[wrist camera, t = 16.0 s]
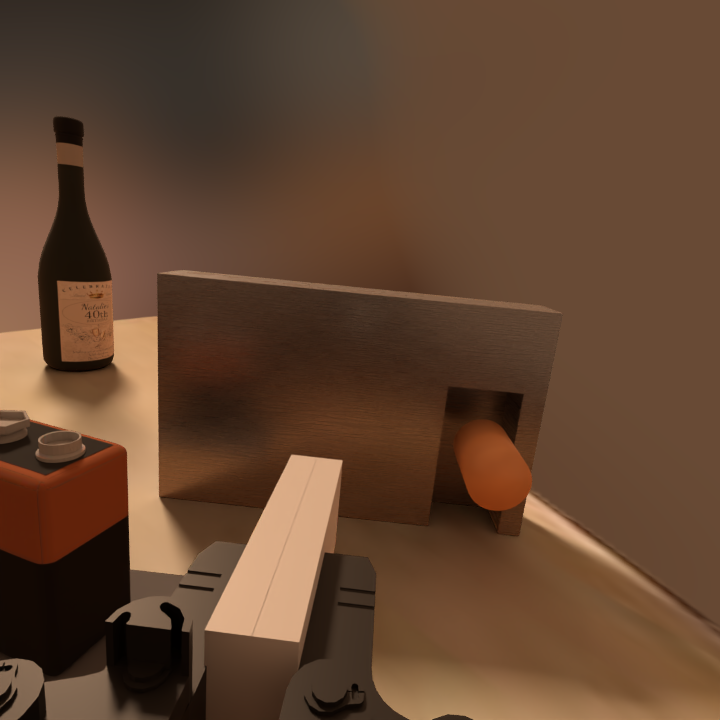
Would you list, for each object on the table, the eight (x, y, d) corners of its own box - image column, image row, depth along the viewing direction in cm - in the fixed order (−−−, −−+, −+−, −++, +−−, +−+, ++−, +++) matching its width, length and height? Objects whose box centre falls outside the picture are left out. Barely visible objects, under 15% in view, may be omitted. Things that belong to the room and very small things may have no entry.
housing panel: (159, 496, 34) (157, 273, 31) (181, 471, 38) (182, 270, 34) (518, 535, 34) (562, 313, 30) (504, 505, 38) (542, 305, 34)
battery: (35, 572, 26) (21, 396, 23) (136, 613, 24) (131, 425, 21) (-57, 631, 22) (-86, 425, 19) (55, 687, 20) (38, 464, 17)
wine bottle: (127, 365, 65) (121, 126, 58) (69, 376, 58) (54, 107, 51) (89, 354, 68) (79, 127, 61) (30, 364, 61) (11, 110, 54)
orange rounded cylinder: (461, 507, 27) (471, 448, 26) (449, 467, 32) (457, 416, 31) (525, 514, 27) (537, 455, 26) (503, 472, 32) (512, 422, 31)
